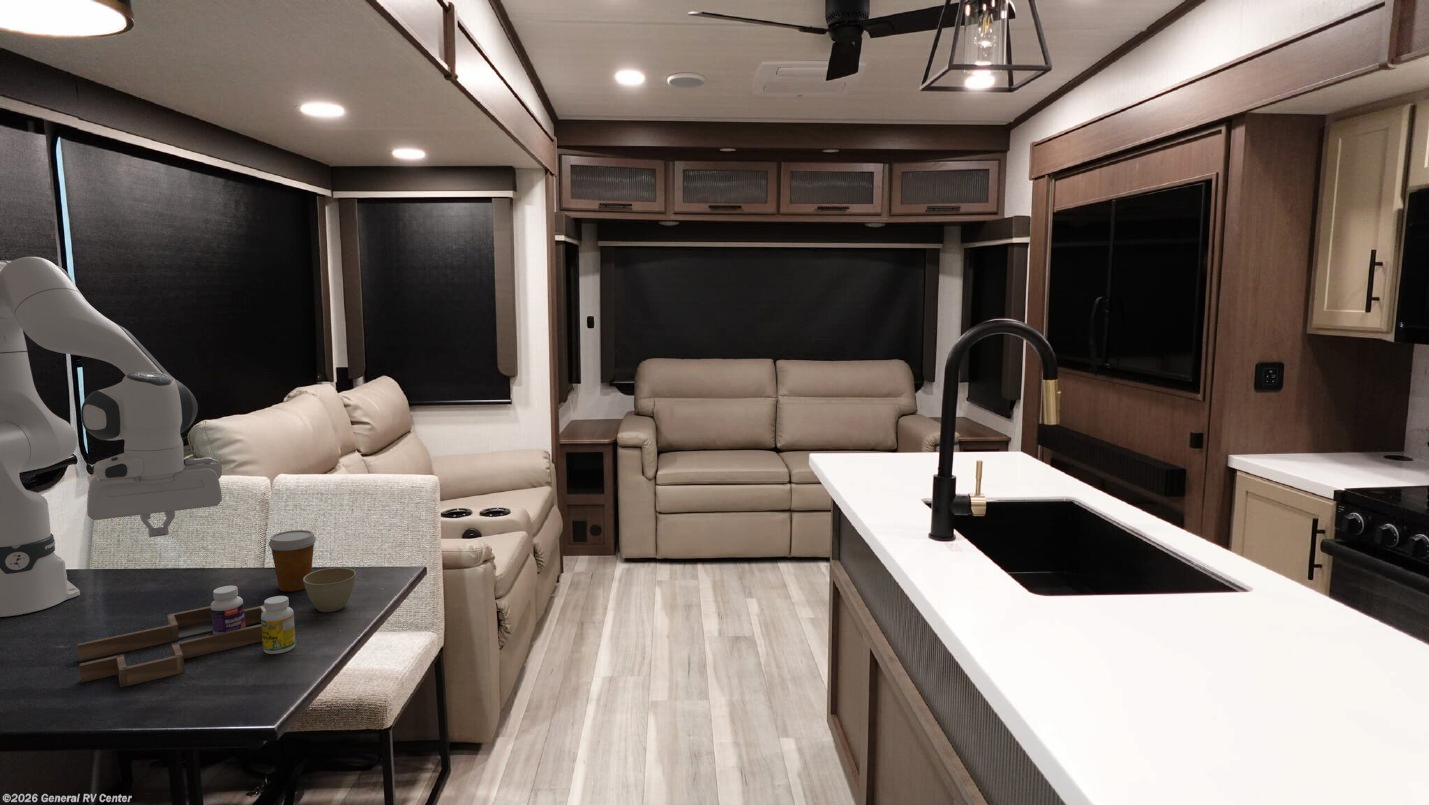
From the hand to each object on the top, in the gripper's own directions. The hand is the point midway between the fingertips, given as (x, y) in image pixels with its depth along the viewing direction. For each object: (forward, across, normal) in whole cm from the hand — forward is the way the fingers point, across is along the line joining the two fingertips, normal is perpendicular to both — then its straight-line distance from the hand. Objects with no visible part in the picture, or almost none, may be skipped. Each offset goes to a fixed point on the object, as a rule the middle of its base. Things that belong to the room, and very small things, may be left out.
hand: (158, 535), depth 147 cm
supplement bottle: (+21, -16, +14) cm, 30 cm away
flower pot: (+21, -30, -1) cm, 36 cm away
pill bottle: (+21, -10, +3) cm, 24 cm away
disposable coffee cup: (+22, -27, -19) cm, 39 cm away
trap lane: (+21, -4, +3) cm, 22 cm away
